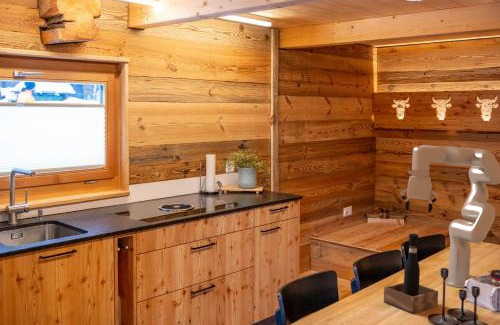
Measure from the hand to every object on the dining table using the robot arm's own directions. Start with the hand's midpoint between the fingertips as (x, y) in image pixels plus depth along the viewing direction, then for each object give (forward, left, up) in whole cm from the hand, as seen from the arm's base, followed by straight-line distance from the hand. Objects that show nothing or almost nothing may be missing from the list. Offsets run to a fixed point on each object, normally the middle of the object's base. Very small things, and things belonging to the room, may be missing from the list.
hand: (418, 211), depth 263 cm
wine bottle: (+10, +14, -38) cm, 41 cm away
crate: (+10, +14, -38) cm, 42 cm away
